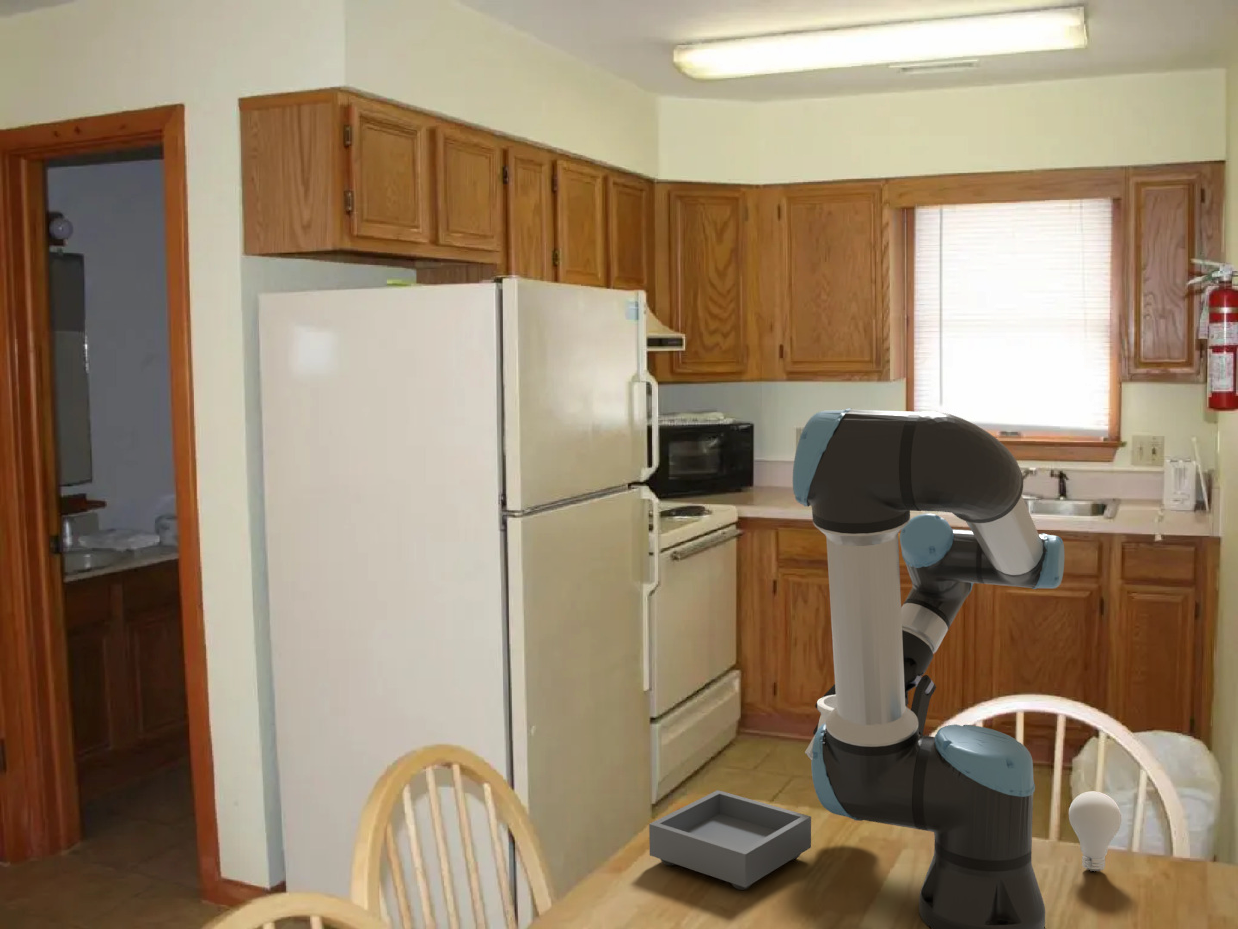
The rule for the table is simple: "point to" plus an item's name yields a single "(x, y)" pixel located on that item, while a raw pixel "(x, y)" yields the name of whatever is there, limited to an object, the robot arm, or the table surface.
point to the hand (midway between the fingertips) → (840, 768)
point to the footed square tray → (730, 838)
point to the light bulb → (1094, 826)
